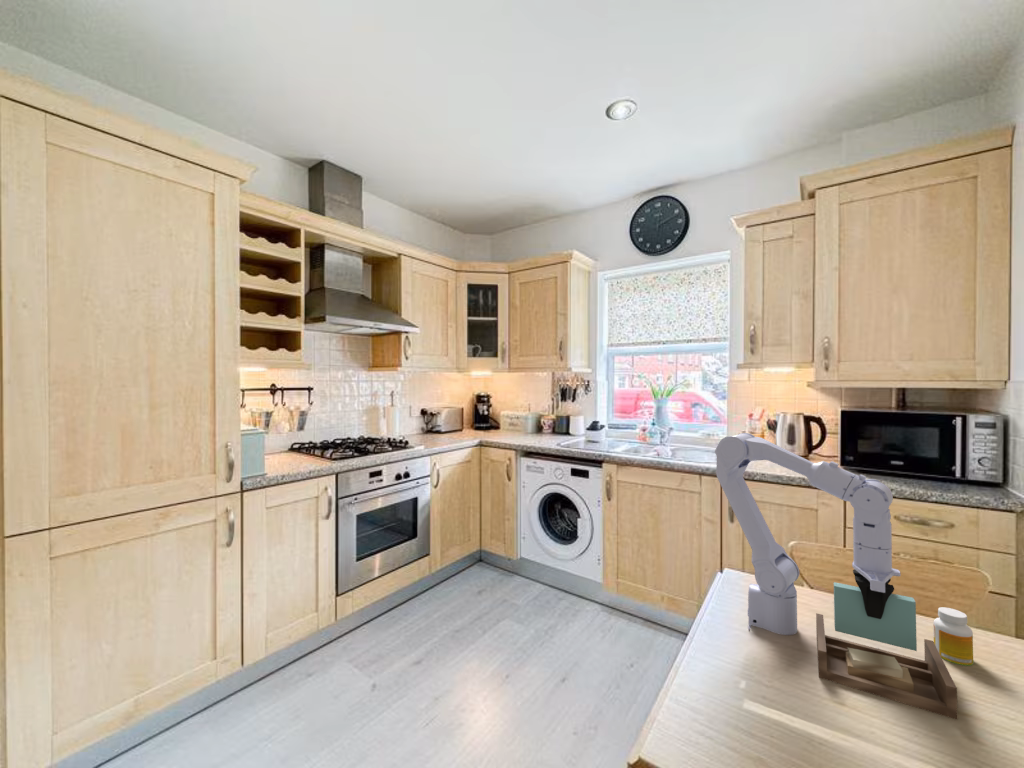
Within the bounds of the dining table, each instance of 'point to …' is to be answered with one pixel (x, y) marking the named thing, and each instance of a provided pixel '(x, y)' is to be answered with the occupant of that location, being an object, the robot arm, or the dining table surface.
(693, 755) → the dining table surface
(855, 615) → the teal sheet
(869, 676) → the oak offcut
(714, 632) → the dining table surface
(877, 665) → the ash offcut
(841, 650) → the walnut rack
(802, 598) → the dining table surface
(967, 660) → the supplement bottle
